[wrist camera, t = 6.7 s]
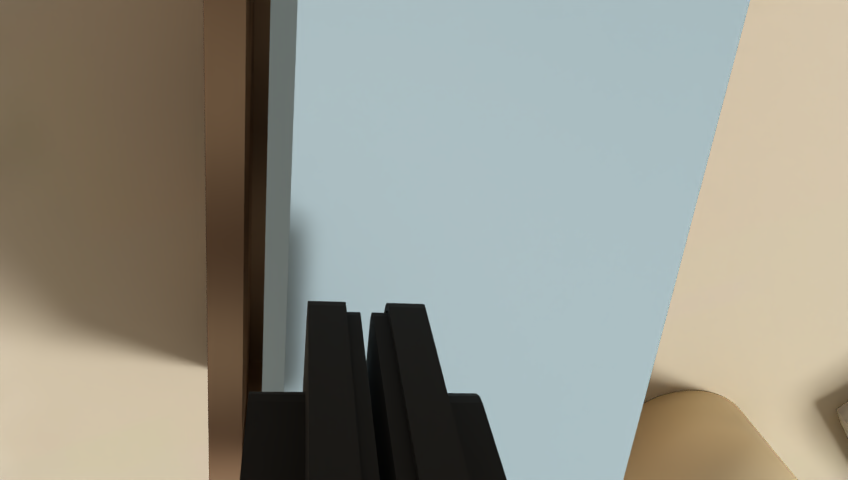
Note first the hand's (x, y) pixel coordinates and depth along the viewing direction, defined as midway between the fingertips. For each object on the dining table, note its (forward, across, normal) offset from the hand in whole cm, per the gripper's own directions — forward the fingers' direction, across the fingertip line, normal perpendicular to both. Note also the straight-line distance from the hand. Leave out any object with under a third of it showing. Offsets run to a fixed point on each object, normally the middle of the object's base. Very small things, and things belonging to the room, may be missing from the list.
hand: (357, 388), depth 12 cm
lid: (+4, -3, +1) cm, 5 cm away
